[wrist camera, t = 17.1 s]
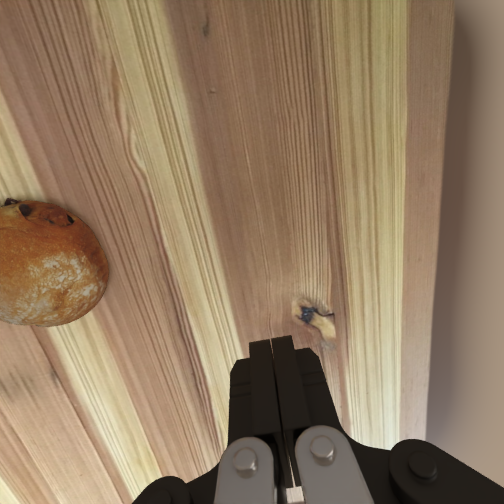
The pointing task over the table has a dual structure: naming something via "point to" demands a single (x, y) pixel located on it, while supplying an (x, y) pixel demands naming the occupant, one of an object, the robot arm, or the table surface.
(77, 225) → the bread roll
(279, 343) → the robot arm
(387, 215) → the table surface
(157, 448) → the table surface
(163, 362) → the table surface
